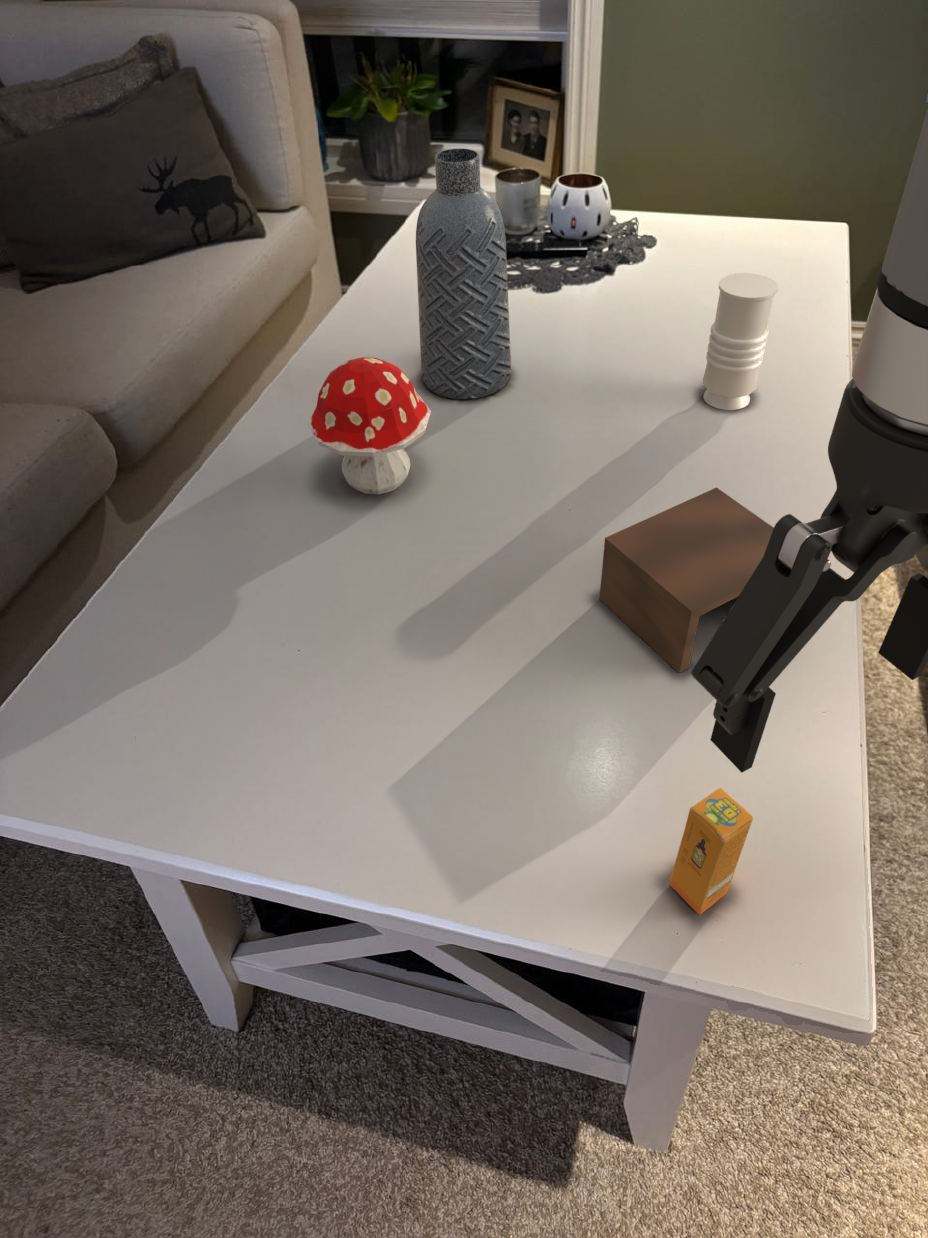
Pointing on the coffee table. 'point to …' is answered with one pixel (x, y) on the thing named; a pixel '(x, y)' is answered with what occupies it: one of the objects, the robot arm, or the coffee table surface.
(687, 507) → the shelf
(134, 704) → the coffee table surface
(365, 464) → the decorative mushroom
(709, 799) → the supplement box
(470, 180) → the vase
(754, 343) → the white ribbed cylinder
